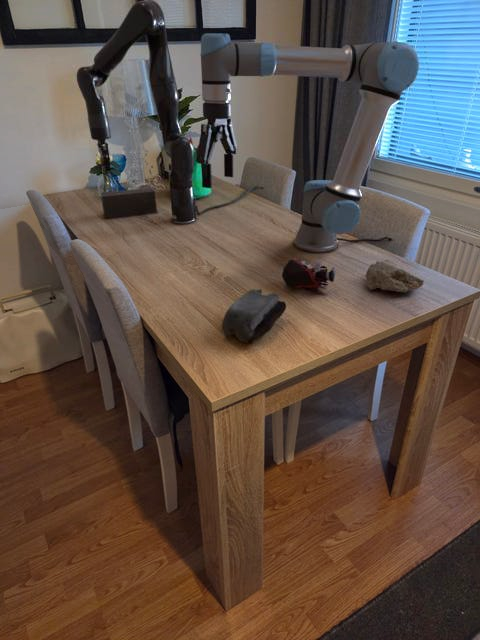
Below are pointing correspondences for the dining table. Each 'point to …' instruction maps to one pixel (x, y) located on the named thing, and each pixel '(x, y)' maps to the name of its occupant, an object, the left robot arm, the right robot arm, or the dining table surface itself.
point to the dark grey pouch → (252, 315)
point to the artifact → (391, 277)
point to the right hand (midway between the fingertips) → (218, 182)
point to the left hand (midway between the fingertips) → (106, 168)
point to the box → (128, 203)
